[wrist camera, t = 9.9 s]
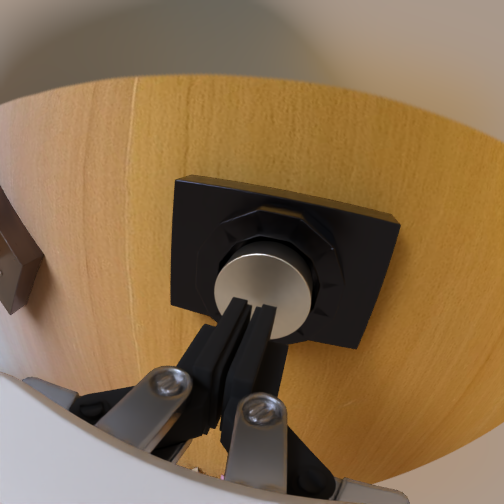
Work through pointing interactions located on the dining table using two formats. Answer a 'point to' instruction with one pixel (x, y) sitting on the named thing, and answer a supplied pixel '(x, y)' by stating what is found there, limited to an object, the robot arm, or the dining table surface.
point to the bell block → (290, 234)
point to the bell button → (268, 283)
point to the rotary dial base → (16, 258)
